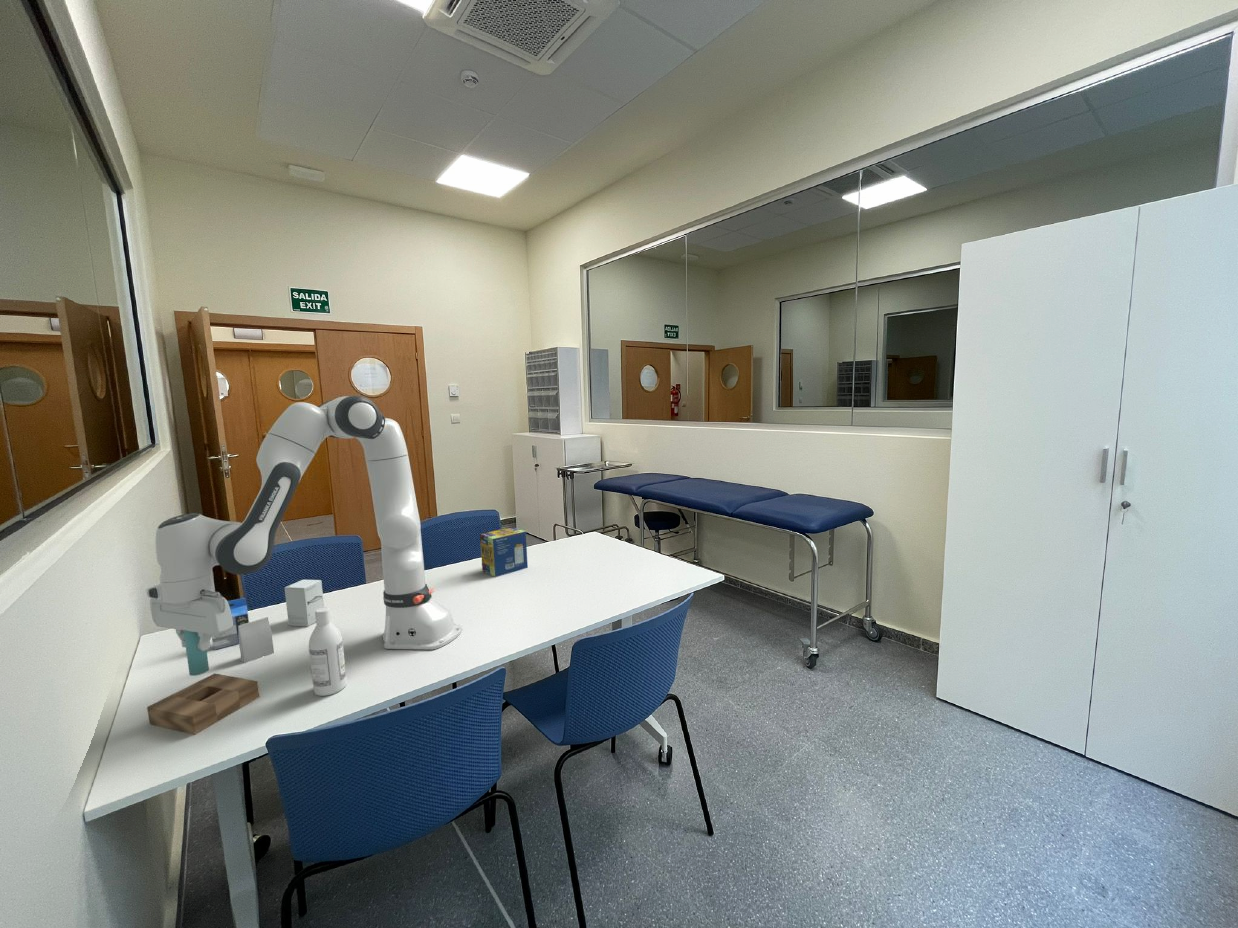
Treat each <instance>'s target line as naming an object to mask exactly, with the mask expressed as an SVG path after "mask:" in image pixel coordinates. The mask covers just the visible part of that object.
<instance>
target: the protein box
mask: <svg viewBox="0 0 1238 928" xmlns="http://www.w3.org/2000/svg"><path fill="white" fill-rule="evenodd" d="M479 540H480V542H479V543H480V553H481V554H480V556H481V570H482V572H484V573H486V574H488V575H489V576H492V577H494V578H497V577H500V576H503V575H507V574H510V573H514V572H517V571H521V570H525V569H528V550H527V549H528V548H527V546H528V545H527V544H528V543H527V532H526V530H522V529H520V528H517V527H514V526H510V527H506V528H502V529H498V530H493V531H489V532H484V533H479Z"/></svg>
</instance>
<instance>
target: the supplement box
mask: <svg viewBox="0 0 1238 928" xmlns="http://www.w3.org/2000/svg"><path fill="white" fill-rule="evenodd" d="M284 596H285V604H286V605H285V606H286V614H287V622H288V626H290V627H291V626H292V627H305V628H307V627H310V626H311V625H313V624H316V617H315V610H317V609H319V608H323V607H325V602H324V592H323V582H322V580H321V579H301V580H298V581H297V582H295V583H292V584H289V585H287V586H285V587H284Z"/></svg>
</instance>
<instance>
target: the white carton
mask: <svg viewBox="0 0 1238 928" xmlns="http://www.w3.org/2000/svg"><path fill="white" fill-rule="evenodd" d="M238 639H239V643H238V645H239V651H240V659H241V661H242V662H243V663H244V664H247V663H249V662H252V661H256V660H258V659H261V658H263V656H264V657H267V656H270V655H273V654H275V651H274V643H273V633H272V630H271V625H270V622H269V617H267V616H266V617H262V618H260V619H256V620H253V621H249V623H246V624H242V625H239V626H238ZM272 653H273V654H272Z"/></svg>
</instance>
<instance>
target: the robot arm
mask: <svg viewBox="0 0 1238 928" xmlns="http://www.w3.org/2000/svg"><path fill="white" fill-rule="evenodd" d="M379 409H380V408H378V406H377V404H375V403H374V402H373V401H372V400H371V399H369V398H367V397H366V396H362V395H346V396H340V397H337V398H335V399H331V400H328V401H327V400H326V401H325V402H323V403H321V404H320V405H318V406H316V405H315V404H313V403H310V402H304V401H301V402H300V401H297V402H294V403H292V404H290V405H289V406H288V407H287V408H286V409H285V410H284V411H283V412H282V414H280V416H278V418H277V420H276V421H275V422H274V423H273V425H272V426H271V427H270V429H269V430H268V432H267V434H266V436H265V437H264V439H263V440H262V442H261V445H260V447H259V449H258V453H257V455H256V460H255V461H256V465H257V467H258V469H259V471H260V472H259V473H260V475H261V487H260V489H259V492H258V494H257V496H256V497H255V499H254V502H253V504H252V505H251V507H250V509H249V511H248V512H247V515H246V517H245V519H244V520H243V521H242V522H239V521H227V520H220V519H216V518H211V517H207V516H205V515H202V514H201V513H197V512H196V513H195V512H192V513H184V514H181V515H175V516H173V517H170V518H168V519H166V520H164V521H163V522H161V523H160V524H159V525H158V527H157V528H156V532H155V553H156V560H157V563H158V565H159V568H160V576H159V584H156V585H153V586H150V587H148V588H147V589H146V596H147V598H148V599H149V598H150V600H149V608H150V609H149V610H150V615H151V618H152V621H153V623H154V625H155V626H156V627H160V628H166V629H171V630H175V634H176V635H177V637H178V638H179V640H180V641H181V647H182V648H185V649H186V645H185V637H184V630H186V631H190V632H196V633H198V636H199V637H200V641H199V642H198V643H197V649H198V650H202V651H204V650H206V649H207V650H209V649H210V648H211V640H212V635H215V636H217V635H220V634H222V633H225V632H227V631H229V630H231V629H232V627H233V619H232V615H231V610H230V607H231V606H230V605H229V604H228V601H229V600H227V599H226V598H225V597H224V596H223V595H222V594H221V593H220V592H219V591H216V588H215V582H214V581H215V579H214V572H213V568H214V567H215V566H220V568H222V570H224V571H225V572H227V573H230V574H232V575H237V576H238V575H240V576H241V575H243V576H244V575H249V574H252V573H256V572H258V571H259V570H260V569H262V568H264V567H265V566H266V565H267V564H268V563H269V562H270V561H271V559H272V556H273V554H274V549H275V537H276V533H277V531H278V528H279V525H280V524H281V522H282V519H283V518H284V515H285V513H286V511H287V509H288V506H289V505H290V503H291V500H292V499H293V496H294V494H295V492H296V489H297V487H298V485H299V483H300V482H301V479H302V477H303V475H304V474H305V472H306V471H307V469H308V467H309V466H310V463H311V462H312V461H313V458H314V457H315V455H316V454H317V452H318V449H319V448H320V446H321V444H322V443H323V442H324V440H325V439H326V438H327V437H330V438H334V439H347V440H348V439H355V438H356V439H357V440H358V441H359V442H360V444H361V446H362V448H363V452H364V458H365V463H366V469H367V474H368V475H367V476H368V479H369V485H370V490H371V491H370V492H371V497H372V505H373V511H374V517H375V524H376V530H377V534H378V537H379V539H380V549H381V566H382V578H383V579H382V580H383V587H384V590H383V592H382V594H383V597H382V598H383V604H384V606H385V622H384V623H385V624H384V631H383V632H384V633H383V636H382V641H383V642H384V644H383V645H384V649H387V650H388V649H389V650H392V649H393V650H427V651H428V650H431V651H432V650H436V649H439V648H442V647H444V646H447V645H448V644H449V643H450V642H453V640H455V639H456V638H457V637H458V636H460V634H461V633H462V631H463V626H462V625H461V624H457V623H455V622H454V617H453V614H452V612H451V611H450V610H449V609H448V608H446V607H445V606H443V604H441V603H440V602H439V601H437V599H434V598H433V596H432V594H433V593H434V592H435V591H434V590H435V588H431V589H429V587H428V585H427V583H426V576H425V563H424V553H423V545H422V544H423V543H422V542H423V541H422V532H421V531H422V530H421V527H422V525H421V520H420V514H419V513H420V512H419V509H418V503H417V499H416V497H417V496H416V493H415V492H416V491H415V486H414V480H413V473H412V469H411V464H410V458H409V453H408V448H407V444H406V440H405V437H404V434H403V431H402V429H401V425H400V424H399V423H398V422H397V421H395V420H394V419H392V418H389V417H388V418H387V417H385V415H383V413H382V412H381V411H380V410H379Z"/></svg>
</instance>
